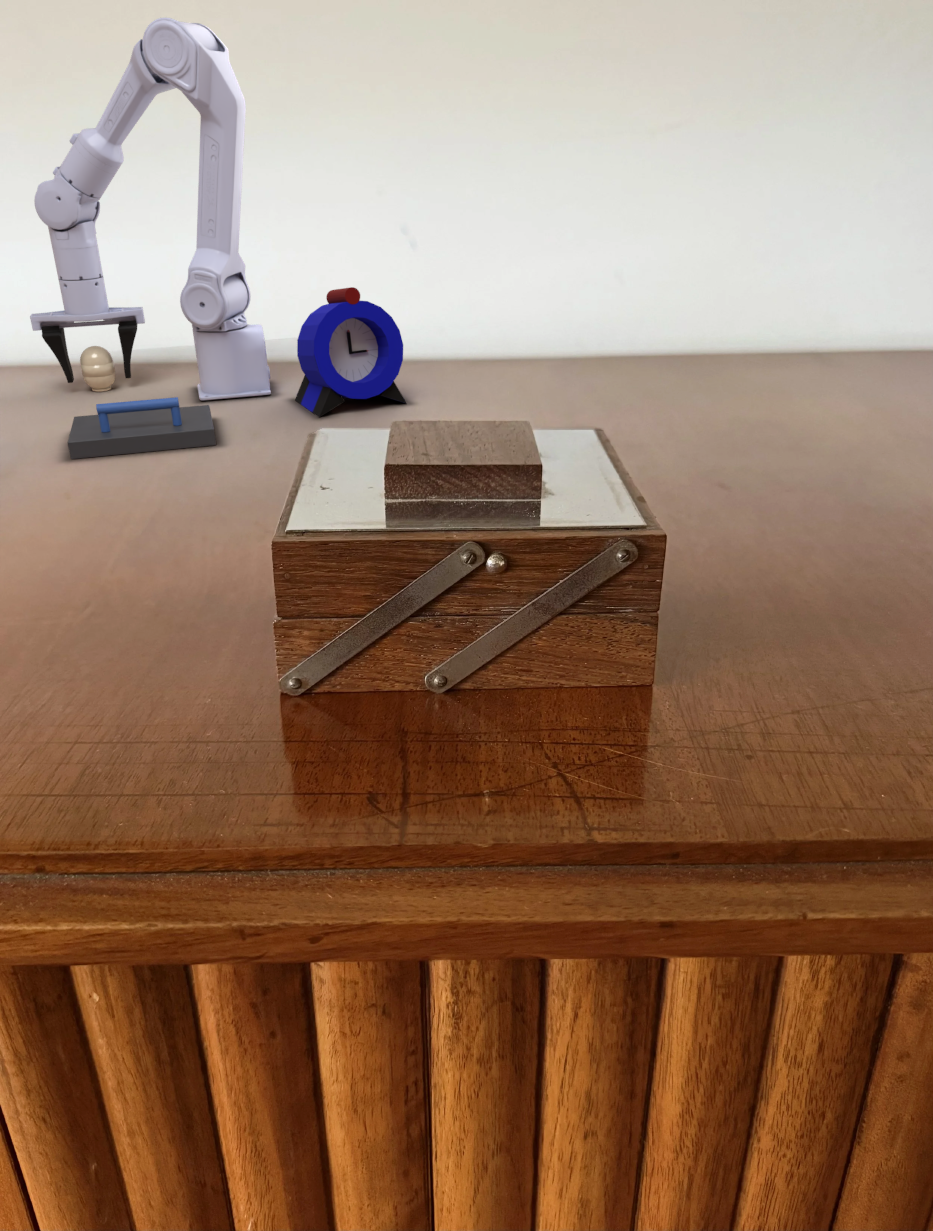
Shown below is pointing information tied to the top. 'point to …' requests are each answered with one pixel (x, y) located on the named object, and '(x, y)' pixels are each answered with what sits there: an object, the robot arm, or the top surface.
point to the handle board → (140, 428)
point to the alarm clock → (348, 353)
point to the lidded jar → (97, 368)
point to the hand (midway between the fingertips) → (99, 378)
